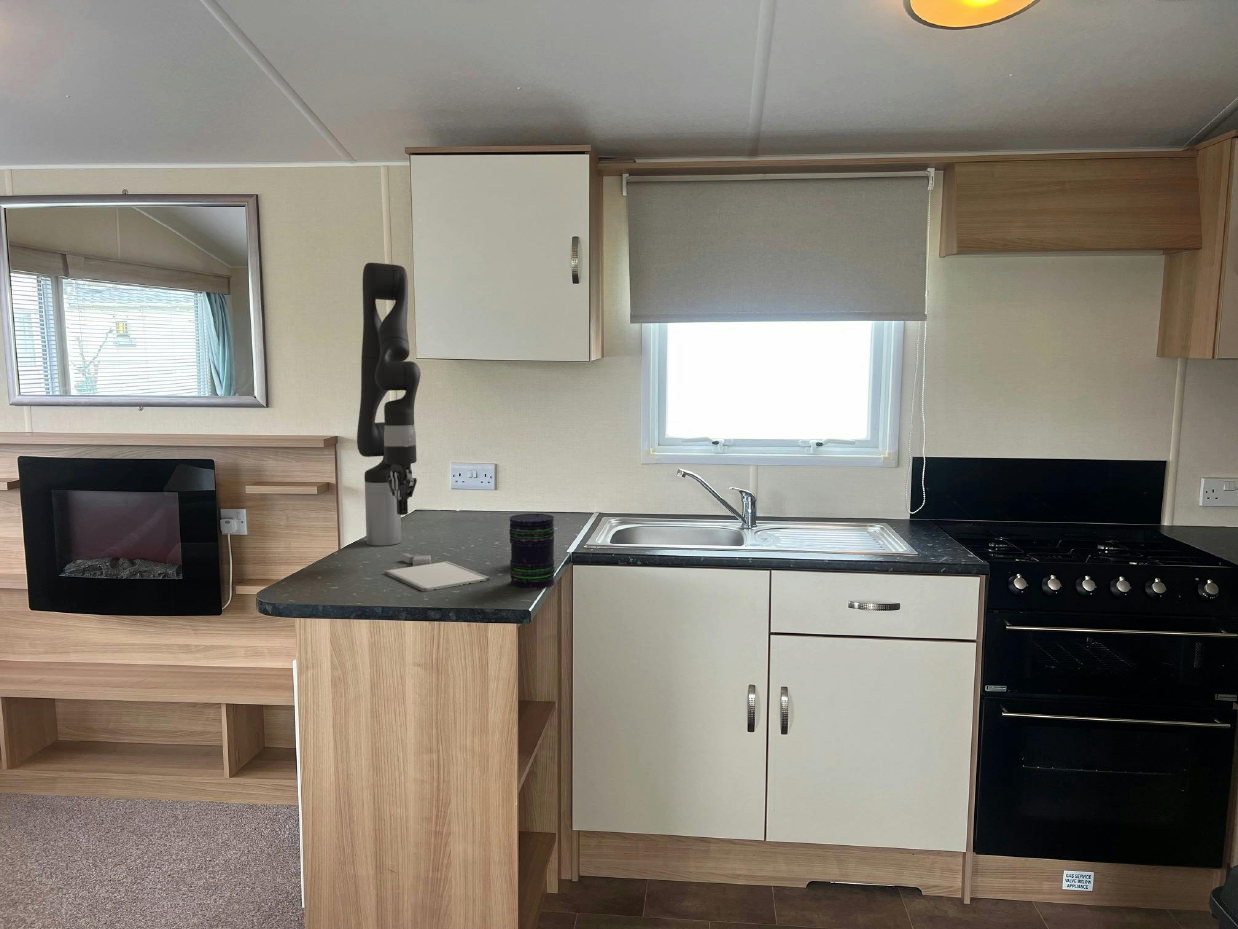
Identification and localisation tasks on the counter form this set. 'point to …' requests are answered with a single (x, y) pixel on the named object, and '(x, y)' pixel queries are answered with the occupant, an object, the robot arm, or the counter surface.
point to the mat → (436, 576)
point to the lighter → (416, 559)
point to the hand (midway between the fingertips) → (402, 514)
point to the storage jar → (532, 551)
